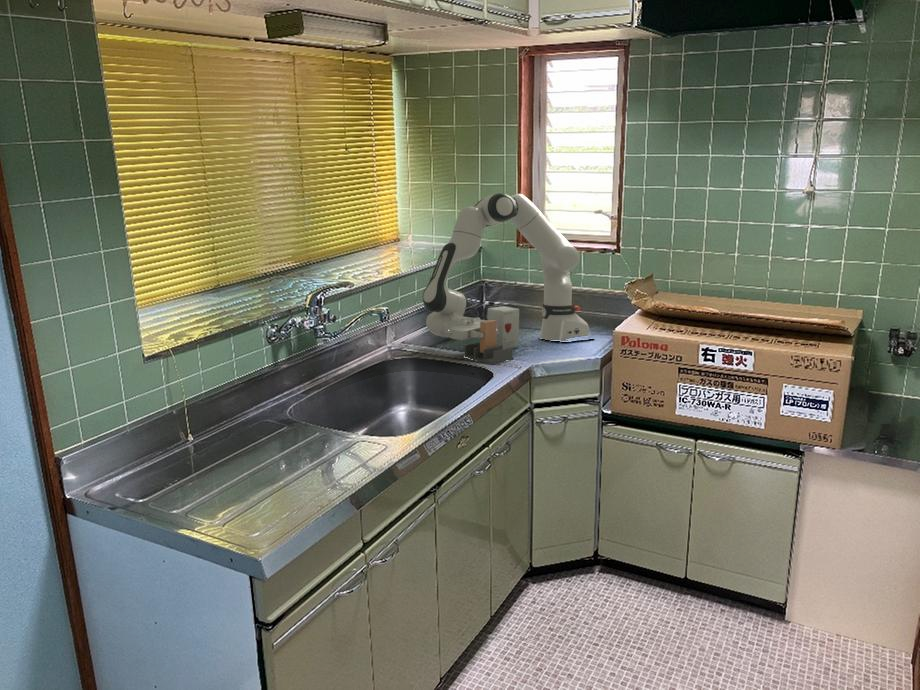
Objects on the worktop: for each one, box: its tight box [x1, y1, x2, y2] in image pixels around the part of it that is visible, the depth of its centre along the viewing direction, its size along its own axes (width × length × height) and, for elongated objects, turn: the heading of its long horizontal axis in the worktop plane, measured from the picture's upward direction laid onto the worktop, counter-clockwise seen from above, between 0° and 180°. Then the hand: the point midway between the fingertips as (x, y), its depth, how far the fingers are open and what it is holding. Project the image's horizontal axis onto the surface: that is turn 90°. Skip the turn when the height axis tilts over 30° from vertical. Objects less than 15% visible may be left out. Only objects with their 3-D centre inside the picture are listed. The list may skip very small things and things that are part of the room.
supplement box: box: [487, 306, 520, 349], centre depth 283 cm, size 9×9×15 cm
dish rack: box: [463, 342, 514, 366], centre depth 264 cm, size 11×14×4 cm
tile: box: [479, 320, 497, 353], centre depth 262 cm, size 6×2×11 cm, turn 137°
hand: (490, 333), depth 261 cm, fingers closed on tile, 6 cm apart
